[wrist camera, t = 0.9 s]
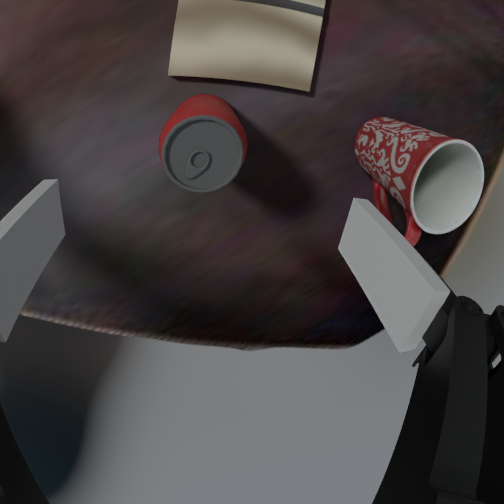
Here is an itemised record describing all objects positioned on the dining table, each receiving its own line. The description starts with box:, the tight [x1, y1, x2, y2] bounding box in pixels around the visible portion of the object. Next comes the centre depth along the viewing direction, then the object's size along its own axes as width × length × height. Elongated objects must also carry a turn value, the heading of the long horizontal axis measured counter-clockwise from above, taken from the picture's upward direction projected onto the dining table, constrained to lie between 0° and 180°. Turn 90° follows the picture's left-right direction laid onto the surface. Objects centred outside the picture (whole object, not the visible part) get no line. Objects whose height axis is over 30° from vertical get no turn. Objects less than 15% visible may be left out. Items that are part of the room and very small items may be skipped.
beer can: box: [159, 94, 248, 193], centre depth 25 cm, size 7×7×12 cm
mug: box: [354, 117, 484, 247], centre depth 29 cm, size 13×9×14 cm
